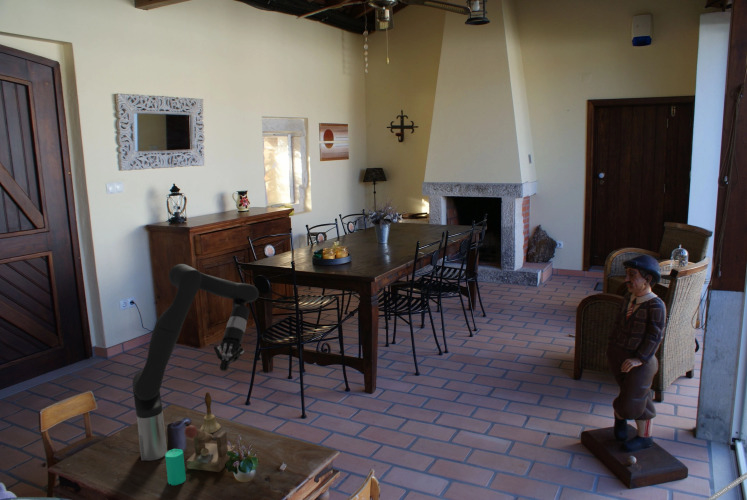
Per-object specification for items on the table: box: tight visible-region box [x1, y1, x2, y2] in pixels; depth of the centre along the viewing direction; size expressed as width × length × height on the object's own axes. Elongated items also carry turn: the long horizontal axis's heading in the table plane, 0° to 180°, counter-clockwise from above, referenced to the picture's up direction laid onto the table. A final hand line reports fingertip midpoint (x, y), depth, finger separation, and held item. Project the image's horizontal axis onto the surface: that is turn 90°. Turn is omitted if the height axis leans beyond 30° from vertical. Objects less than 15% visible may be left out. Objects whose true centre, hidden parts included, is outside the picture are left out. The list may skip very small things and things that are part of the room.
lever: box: [184, 424, 217, 443], centre depth 207 cm, size 6×4×18 cm
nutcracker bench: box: [186, 429, 237, 473], centre depth 215 cm, size 13×13×11 cm
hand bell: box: [200, 391, 222, 434], centre depth 239 cm, size 8×8×16 cm
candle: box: [164, 448, 187, 486], centre depth 203 cm, size 6×6×12 cm
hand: (223, 370), depth 223 cm, fingers closed
